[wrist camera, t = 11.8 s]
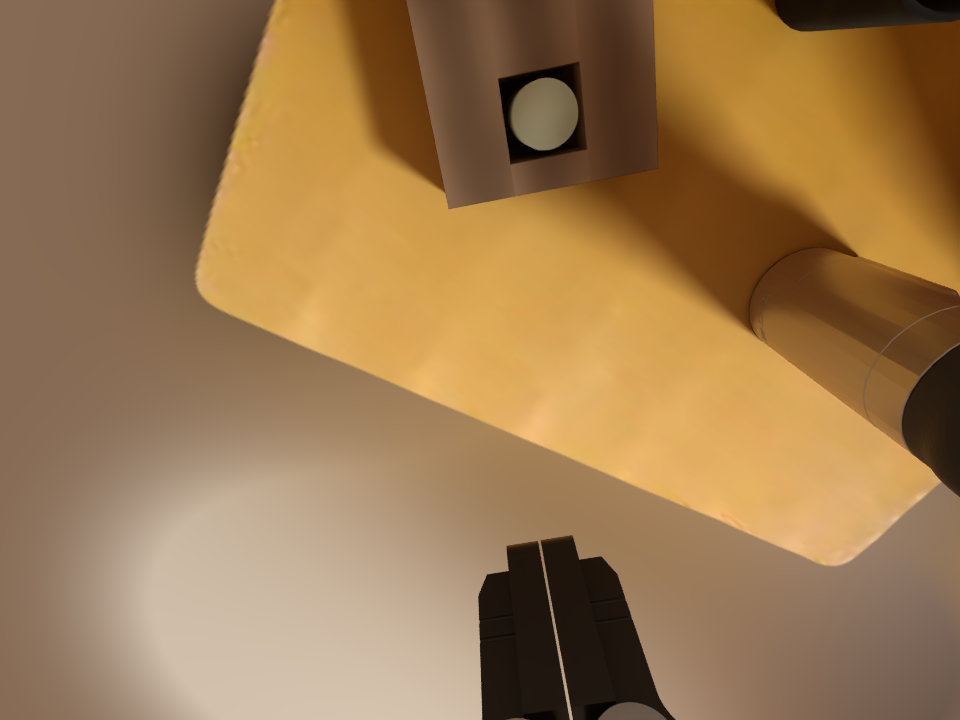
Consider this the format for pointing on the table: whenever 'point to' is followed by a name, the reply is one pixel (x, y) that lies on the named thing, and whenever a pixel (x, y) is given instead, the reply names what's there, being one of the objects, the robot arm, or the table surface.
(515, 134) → the peg sage
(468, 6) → the socket block
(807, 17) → the cup
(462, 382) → the table surface
